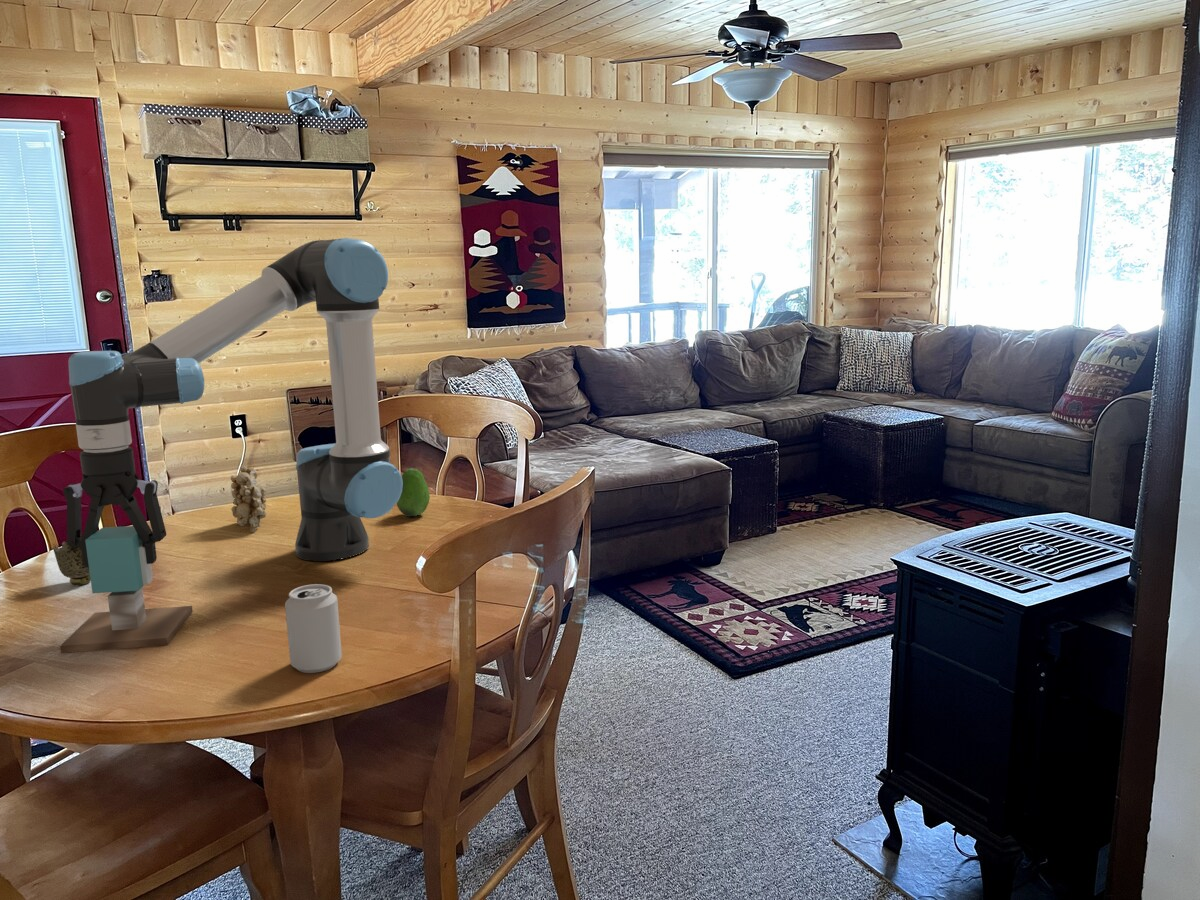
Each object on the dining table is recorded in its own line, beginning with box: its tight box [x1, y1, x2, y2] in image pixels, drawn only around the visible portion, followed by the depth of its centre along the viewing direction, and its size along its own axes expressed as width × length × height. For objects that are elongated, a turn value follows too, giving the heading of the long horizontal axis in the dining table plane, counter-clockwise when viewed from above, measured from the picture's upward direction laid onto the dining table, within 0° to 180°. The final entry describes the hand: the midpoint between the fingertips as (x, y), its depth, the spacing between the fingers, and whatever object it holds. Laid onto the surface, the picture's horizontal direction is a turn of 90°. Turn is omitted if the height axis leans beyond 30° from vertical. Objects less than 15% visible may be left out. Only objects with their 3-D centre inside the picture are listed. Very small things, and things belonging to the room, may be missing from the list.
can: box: [284, 583, 342, 674], centre depth 133 cm, size 8×8×12 cm
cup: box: [52, 541, 91, 586], centre depth 170 cm, size 8×7×8 cm
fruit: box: [396, 467, 431, 517], centre depth 213 cm, size 8×8×12 cm
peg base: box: [59, 587, 194, 654], centre depth 146 cm, size 16×14×7 cm
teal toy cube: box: [85, 525, 153, 594], centre depth 144 cm, size 7×7×9 cm
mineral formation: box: [230, 465, 267, 533], centre depth 205 cm, size 8×13×15 cm, turn 31°
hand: (123, 583), depth 145 cm, fingers closed on teal toy cube, 7 cm apart
